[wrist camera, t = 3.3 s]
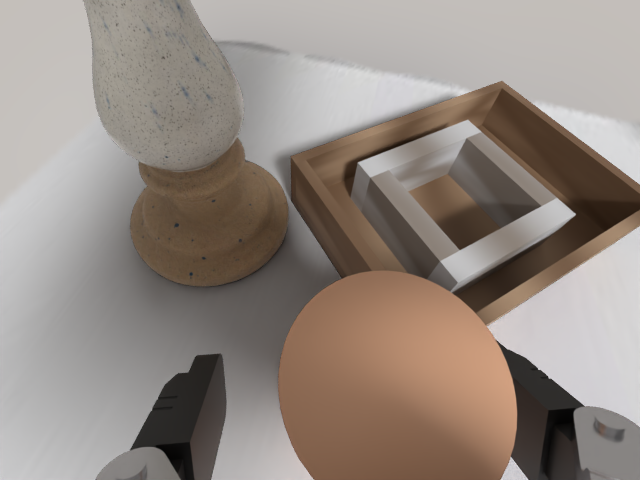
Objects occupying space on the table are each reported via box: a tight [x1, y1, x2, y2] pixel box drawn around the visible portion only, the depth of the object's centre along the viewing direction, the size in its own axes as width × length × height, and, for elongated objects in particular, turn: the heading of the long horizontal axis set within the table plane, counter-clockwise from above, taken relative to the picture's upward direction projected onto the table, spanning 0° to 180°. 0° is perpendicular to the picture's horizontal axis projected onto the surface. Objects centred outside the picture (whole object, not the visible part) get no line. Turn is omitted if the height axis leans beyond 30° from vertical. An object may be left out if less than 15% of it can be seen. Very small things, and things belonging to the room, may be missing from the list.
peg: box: [278, 271, 517, 480], centre depth 10 cm, size 4×4×11 cm
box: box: [291, 81, 640, 327], centre depth 20 cm, size 16×12×4 cm
